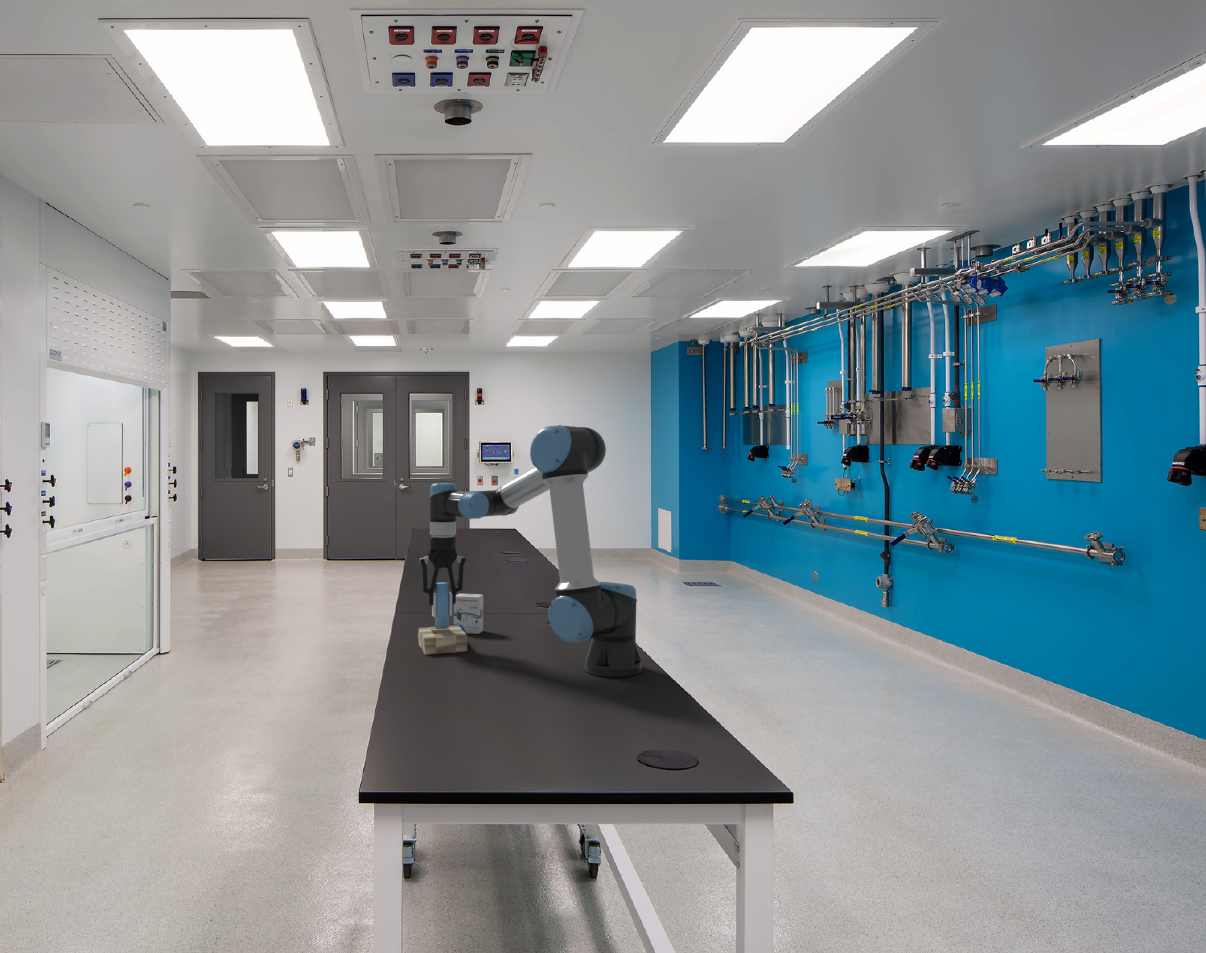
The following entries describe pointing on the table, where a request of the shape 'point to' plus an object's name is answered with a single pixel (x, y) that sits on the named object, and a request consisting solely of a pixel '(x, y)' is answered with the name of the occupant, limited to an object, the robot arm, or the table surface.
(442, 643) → the socket block
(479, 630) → the ink box
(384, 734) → the table surface
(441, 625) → the peg
